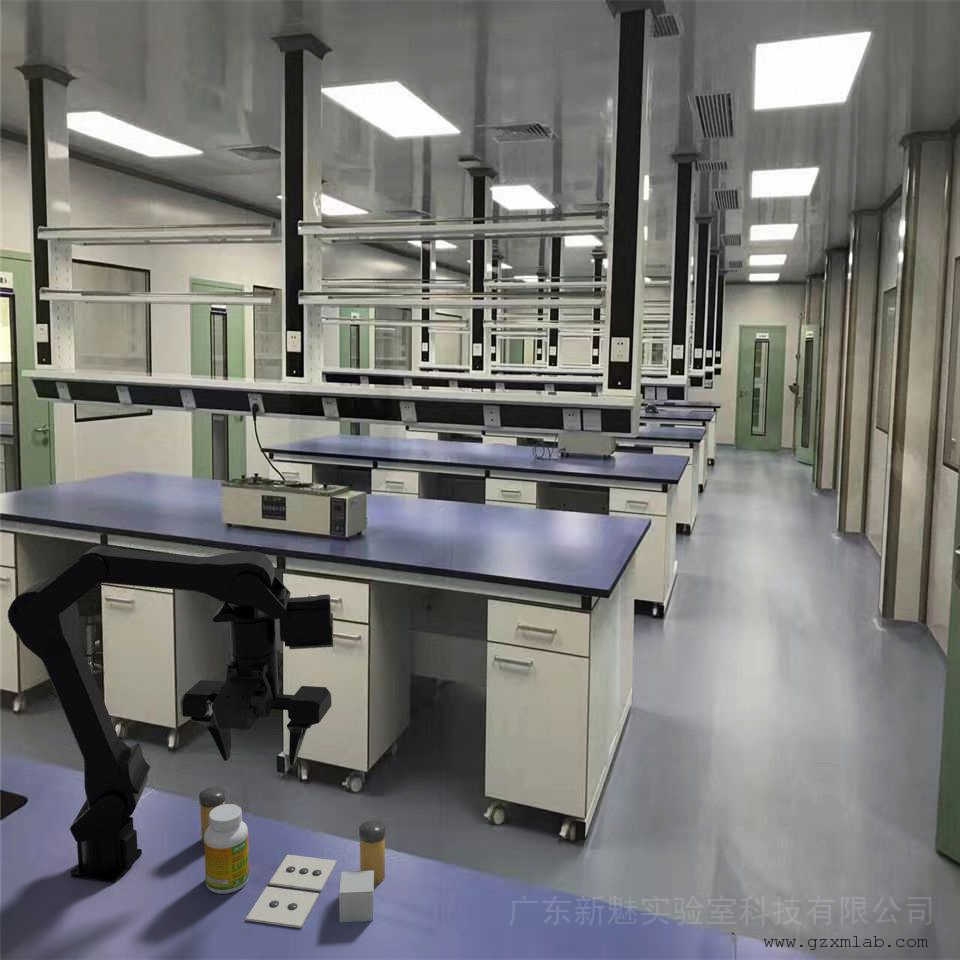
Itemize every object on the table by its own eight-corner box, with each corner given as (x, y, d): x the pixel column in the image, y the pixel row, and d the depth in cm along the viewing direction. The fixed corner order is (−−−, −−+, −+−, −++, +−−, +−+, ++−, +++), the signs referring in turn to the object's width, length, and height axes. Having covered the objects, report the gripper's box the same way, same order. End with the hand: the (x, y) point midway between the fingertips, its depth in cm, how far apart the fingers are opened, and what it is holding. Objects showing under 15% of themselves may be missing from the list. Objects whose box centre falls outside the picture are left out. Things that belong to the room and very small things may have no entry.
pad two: (246, 920, 100) (246, 917, 100) (266, 888, 106) (266, 885, 106) (301, 928, 99) (301, 925, 99) (319, 895, 105) (319, 892, 105)
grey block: (339, 922, 101) (339, 892, 100) (341, 900, 104) (341, 871, 104) (373, 921, 101) (373, 891, 100) (374, 899, 105) (374, 870, 104)
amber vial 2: (355, 883, 108) (355, 833, 106) (363, 867, 111) (363, 819, 110) (381, 886, 107) (381, 837, 106) (388, 870, 110) (388, 822, 109)
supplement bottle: (236, 898, 104) (234, 827, 103) (197, 891, 105) (194, 821, 104) (256, 871, 110) (254, 803, 108) (219, 865, 111) (216, 798, 109)
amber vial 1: (196, 845, 115) (194, 798, 114) (208, 831, 118) (206, 785, 117) (219, 848, 114) (217, 801, 113) (230, 834, 118) (229, 788, 116)
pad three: (269, 884, 107) (269, 881, 107) (287, 856, 113) (287, 853, 113) (321, 891, 106) (321, 888, 106) (337, 862, 112) (337, 860, 112)
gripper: (154, 671, 102) (163, 788, 104) (301, 679, 99) (306, 799, 102) (197, 638, 113) (204, 745, 115) (330, 645, 110) (334, 754, 113)
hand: (259, 761), depth 111 cm, fingers open, 9 cm apart
